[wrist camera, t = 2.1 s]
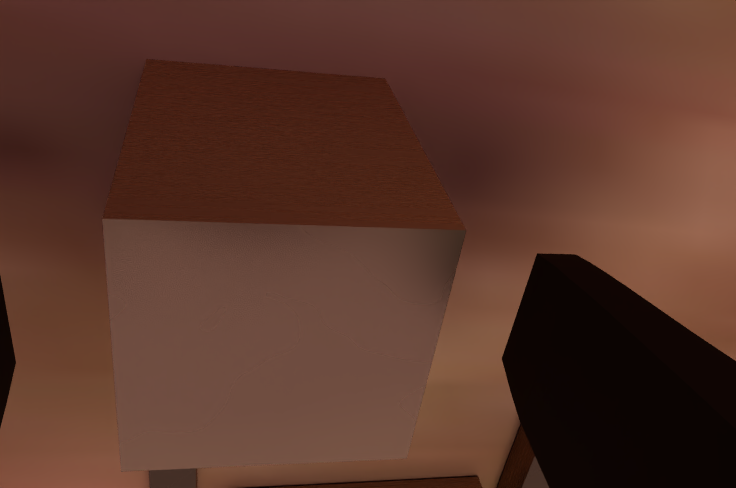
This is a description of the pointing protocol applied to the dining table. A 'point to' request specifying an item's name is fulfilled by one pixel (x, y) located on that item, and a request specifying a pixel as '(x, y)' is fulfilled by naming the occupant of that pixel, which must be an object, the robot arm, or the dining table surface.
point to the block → (272, 269)
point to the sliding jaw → (407, 484)
